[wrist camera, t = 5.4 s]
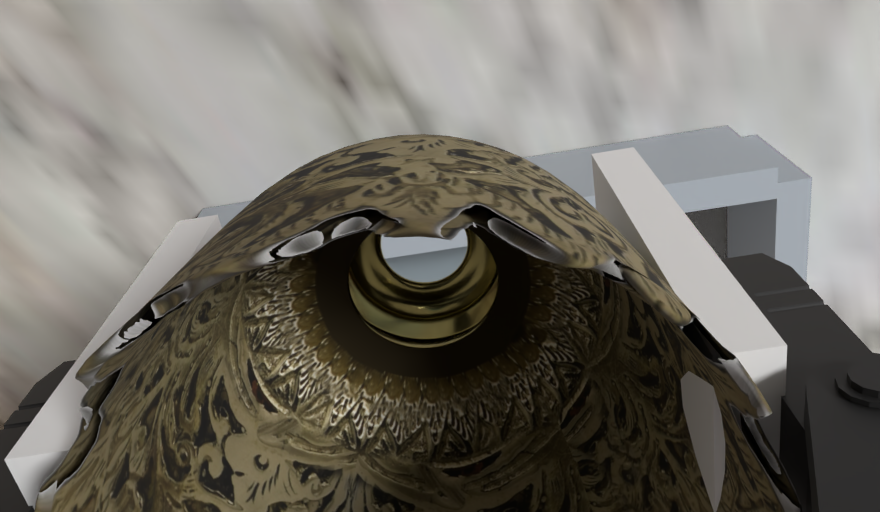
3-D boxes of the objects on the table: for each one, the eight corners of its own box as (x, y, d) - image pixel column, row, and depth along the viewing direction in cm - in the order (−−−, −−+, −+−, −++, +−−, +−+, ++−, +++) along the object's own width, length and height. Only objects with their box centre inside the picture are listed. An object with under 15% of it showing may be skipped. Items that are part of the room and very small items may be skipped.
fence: (202, 208, 33) (167, 262, 28) (757, 120, 32) (812, 161, 27) (277, 441, 38) (258, 516, 34) (751, 374, 37) (797, 443, 33)
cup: (500, 449, 17) (550, 869, 10) (175, 320, 15) (-48, 702, 8) (696, 158, 14) (972, 446, 7) (321, -36, 13) (174, 75, 5)
